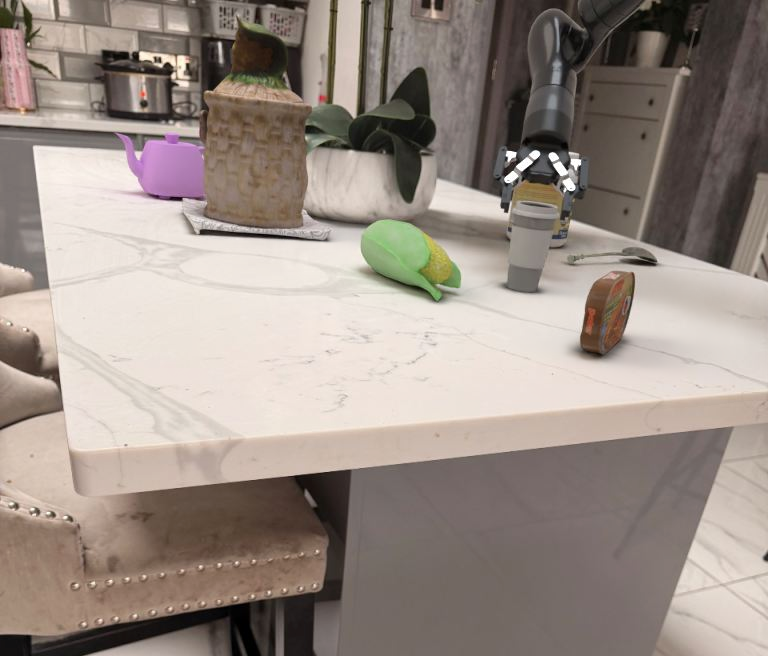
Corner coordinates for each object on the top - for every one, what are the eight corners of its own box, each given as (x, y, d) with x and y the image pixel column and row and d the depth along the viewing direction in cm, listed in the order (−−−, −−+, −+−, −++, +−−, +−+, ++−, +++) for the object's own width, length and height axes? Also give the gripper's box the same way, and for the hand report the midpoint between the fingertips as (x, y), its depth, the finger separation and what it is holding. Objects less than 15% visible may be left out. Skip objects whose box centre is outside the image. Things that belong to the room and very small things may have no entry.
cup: (512, 293, 112) (528, 207, 106) (490, 282, 117) (504, 199, 111) (553, 293, 115) (570, 209, 109) (530, 282, 120) (545, 201, 114)
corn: (401, 233, 119) (485, 265, 105) (372, 277, 120) (452, 315, 106) (368, 200, 113) (454, 230, 99) (338, 247, 114) (419, 283, 100)
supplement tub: (566, 251, 148) (587, 156, 140) (504, 243, 149) (521, 147, 141) (563, 241, 159) (582, 151, 150) (505, 233, 160) (521, 144, 151)
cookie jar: (334, 241, 133) (348, 25, 117) (188, 234, 125) (183, 2, 110) (306, 216, 153) (315, 29, 137) (179, 209, 146) (174, 10, 130)
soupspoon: (663, 269, 146) (637, 263, 151) (668, 251, 144) (641, 245, 149) (581, 267, 134) (555, 260, 139) (585, 247, 133) (559, 241, 138)
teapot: (204, 192, 167) (204, 132, 161) (226, 202, 158) (226, 140, 152) (110, 189, 158) (106, 125, 152) (127, 200, 148) (123, 133, 142)
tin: (596, 362, 87) (614, 287, 82) (569, 355, 88) (586, 281, 84) (626, 334, 98) (644, 268, 94) (602, 329, 100) (619, 263, 95)
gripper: (505, 101, 116) (490, 190, 112) (599, 112, 115) (587, 202, 110) (499, 138, 123) (485, 223, 119) (588, 149, 122) (577, 235, 118)
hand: (534, 213), depth 115 cm, fingers open, 8 cm apart
